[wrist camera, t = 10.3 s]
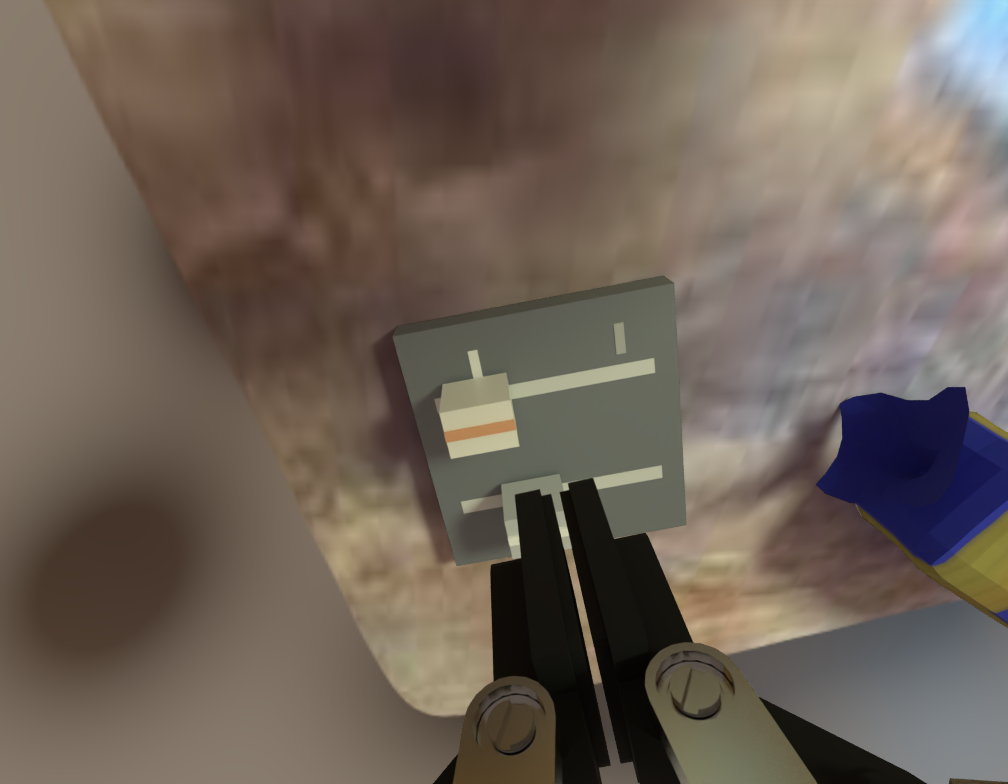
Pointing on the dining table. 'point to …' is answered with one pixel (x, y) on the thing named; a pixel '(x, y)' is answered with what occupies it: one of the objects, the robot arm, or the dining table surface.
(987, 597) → the bread
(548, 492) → the fader
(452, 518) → the console
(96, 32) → the dining table surface
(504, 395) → the fader
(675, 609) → the robot arm
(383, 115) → the dining table surface
